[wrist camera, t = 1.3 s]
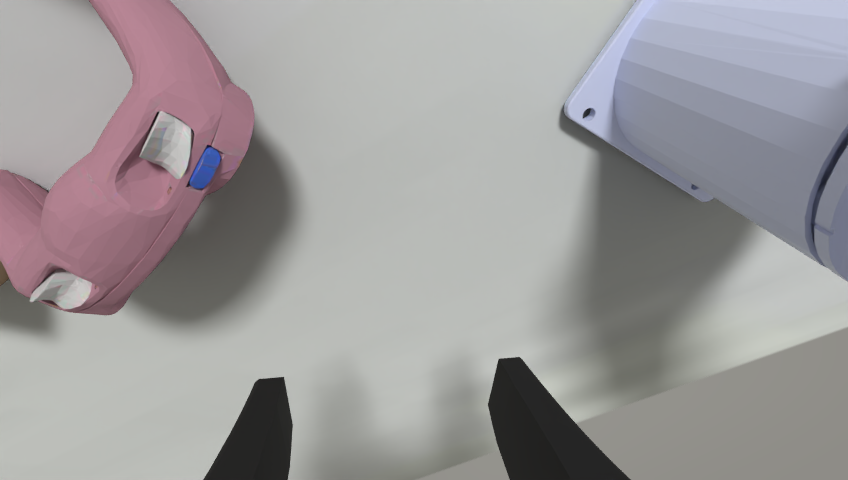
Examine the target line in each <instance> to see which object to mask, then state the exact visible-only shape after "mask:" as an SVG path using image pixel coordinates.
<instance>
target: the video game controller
mask: <svg viewBox="0 0 848 480" xmlns="http://www.w3.org/2000/svg"><path fill="white" fill-rule="evenodd" d="M89 2H90V3H91V4H92V6H93V7H94V9H95V10H96V11H97V13H98V14H99V16H100V17H101V19H102V20H103V22H104V23H105V25H106V26H107V28H108V29H109V31H110V32H111V34H112V35H113V37H114V38H115V40H116V41H117V43H118V45H119V47H120V49H121V50H122V52H123V54H124V56H125V58H126V60H127V62H128V63H129V66H130V68H131V71H132V74H133V83H132V87H131V89H130V91H129V93H128V94H127V96H126V97H125V99H124V100H123V102H122V103H121V105H120V106H119V108H118V109H117V110H116V112H115V113H114V115H113V116H112V118H111V119H110V121H109V122H108V124H107V126H106V128H105V129H104V131H103V133H102V134H101V136H100V138H99V139H98V141H97V143H96V144H95V146H94V148H93V150H92V151H91V152H90V153H89V154H88V155H86V156H85V157H84V158H82V159H81V160H80V161H78V162H77V163H76V164H75V165H74V166H72V167H71V168H70V169H69V170H68V171H67V172H66V173H64V174H63V175H62V176H61V177H60V178H59V179H58V180H57V182H56V183H55V184H54V186H53V187H52V188H51V190H50V191H49V192H47V191H46V190H44V189H43V188H41V187H40V186H38V185H37V184H35V183H34V182H32V181H30V180H28V179H26V178H24V177H22V176H20V175H17V174H13V173H10V172H9V171H7V170H0V261H1V262H2V264H3V266H4V268H5V270H6V272H7V274H8V276H9V278H10V281H11V283H12V285H13V287H14V288H15V289H16V290H17V291H18V292H19V293H21V294H23V295H24V296H26V297H28V298H30V302H35V301H39V302H41V303H44V304H46V305H49V306H52V307H54V308H57V309H60V310H63V311H67V312H73V313H85V314H98V315H112V314H114V313H116V312H118V311H119V310H120V309H121V308H122V307H123V306H124V304H125V303H126V301H127V300H128V298H129V296H130V295H131V293H132V292H133V290H134V289H136V288H137V287H138V286H139V285H140V284H142V283H143V281H144V280H145V279H146V278H147V277H148V275H149V274H150V273H151V272H152V271H153V270H154V269H155V268H156V267H157V266H158V264H159V263H160V262H161V261H162V260H163V258H164V257H165V256H166V254H167V253H168V252H169V251H170V249H171V248H172V247H173V245H174V244H175V243H176V241H177V240H178V239H179V237H180V236H181V235H182V233H183V232H184V230H185V229H186V227H187V226H188V224H189V222H190V221H191V219H192V218H193V216H194V215H195V213H196V211H197V210H198V208H199V206H200V204H201V203H202V201H203V199H204V197H205V196H206V195H208V194H211V193H213V192H215V191H217V190H218V189H220V188H222V187H223V186H224V185H225V184H226V183H227V182H228V181H229V180H230V179H231V178H232V176H233V175H234V174H235V172H236V171H237V169H238V168H239V166H240V164H241V162H242V160H243V158H244V156H245V154H246V152H247V150H248V147H249V143H250V140H251V136H252V132H253V127H254V108H253V104H252V101H251V99H250V97H249V95H248V94H247V93H246V92H245V91H244V90H242V89H241V88H239V87H237V86H236V85H234V84H233V83H231V81H230V79H229V77H228V75H227V73H226V71H225V69H224V68H223V66H222V65H221V63H220V62H219V61H218V59H217V58H216V56H215V55H214V54H213V52H212V51H211V49H210V48H209V46H208V45H207V44H206V42H205V41H204V39H203V38H202V37H201V35H200V34H199V33H198V31H197V30H196V29H195V28H194V27H193V25H192V24H191V23H190V22H189V21H188V19H187V18H186V17H185V16H184V14H183V13H182V12H181V11H180V10H179V9H178V8H177V7H176V6H175V5H174V4H172V3H171V2H170V1H169V0H89Z"/></svg>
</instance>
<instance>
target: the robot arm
mask: <svg viewBox="0 0 848 480" xmlns="http://www.w3.org/2000/svg"><path fill="white" fill-rule="evenodd" d="M588 108H590V109H591V111H590V114H589V115H588V116H587V117H585V118H583V113H584V111H585V110H586V109H588ZM564 113H565V115H566V116H567V117H568V118H569V119H571V120H572V121H574V122H576V123H577V124H579V125H580V126H582V127H584V128H585V129H587V130H588V131H590V132H591V133H593V134H595V135H596V136H598V137H599V138H601V139H603V140H604V141H606V142H607V143H609V144H611V145H612V146H614V147H615V148H617V149H618V150H620V151H622V152H623V153H625V154H626V155H628V156H630V157H631V158H633V159H634V160H636V161H637V162H639V163H641V164H642V165H644V166H645V167H647V168H649V169H650V170H652V171H653V172H655V173H657V174H658V175H660V176H661V177H663V178H664V179H666V180H668V181H669V182H671V183H672V184H674V185H676V186H677V187H679V188H680V189H682V190H684V191H685V192H687V193H688V194H690V195H691V196H693V197H695V198H696V199H698V200H699V201H701V202H708V201H710V200H712V199H713V198H716V199H717V200H719V201H721V202H722V203H724V204H725V205H727V206H729V207H730V208H732V209H733V210H735V211H737V212H738V213H740V214H741V215H743V216H744V217H746V218H748V219H749V220H751V221H752V222H754V223H756V224H757V225H759V226H760V227H762V228H764V229H765V230H767V231H768V232H770V233H772V234H773V235H775V236H776V237H778V238H779V239H781V240H783V241H784V242H786V243H787V244H789V245H791V246H792V247H794V248H795V249H797V250H799V251H800V252H802V253H803V254H805V255H806V256H808V257H810V258H811V259H813V260H814V261H816V262H818V263H819V264H821V265H823V266H825V267H827V268H829V269H830V270H831V271H832V272H833V273H835V274H837V275H838V276H840V277H841V278H843V279H844V280H846V281H848V0H636V2H635V3H634V5H633V6H632V8H631V9H630V10H629V12H628V13H627V15H626V16H625V18H624V19H623V20H622V22H621V23H620V25H619V26H618V28H617V29H616V30H615V32H614V33H613V35H612V36H611V38H610V39H609V40H608V42H607V43H606V45H605V46H604V48H603V49H602V50H601V52H600V53H599V55H598V56H597V58H596V59H595V60H594V62H593V63H592V65H591V66H590V68H589V69H588V70H587V72H586V73H585V75H584V76H583V78H582V79H581V80H580V82H579V83H578V85H577V86H576V87H575V89H574V90H573V92H572V93H571V95H570V96H569V97H568V99H567V100H566V102H565V105H564ZM692 184H693V185H692ZM488 407H489V411H490V416H491V420H492V425H493V429H494V433H495V437H496V441H497V444H498V447H499V450H500V453H501V456H502V459H503V461H504V464H505V467H506V470H507V473H508V476H509V478H510V480H630V479H629V478H628V477H627V476H626V475H625V474H624V473H623V472H622V471H621V470H620V469H619V468H618V467H617V466H616V465H615V464H614V463H613V462H612V461H611V460H610V459H609V458H608V457H607V456H606V455H605V454H604V453H603V452H602V451H601V450H600V449H599V448H598V447H597V446H596V445H595V444H594V443H593V442H592V441H591V440H590V439H589V437H587V435H585V433H584V432H583V431H582V430H581V429H580V428H579V427H578V425H577V424H576V423H575V422H574V421H573V420H572V419H571V418H570V416H569V415H568V414H567V413H566V412H565V411H564V410H563V409H562V407H561V406H560V405H559V404H558V403H557V402H556V400H555V399H554V398H553V397H552V396H551V394H550V393H549V392H548V391H547V390H546V388H545V387H544V386H543V385H542V384H541V382H540V381H539V380H538V379H537V377H536V376H535V375H534V374H533V372H532V371H531V370H530V369H529V367H528V366H527V365H526V364H525V362H524V361H523V360H522V359H521V358H520V357H516V358H504V359H499V360H498V364H497V369H496V373H495V377H494V381H493V386H492V390H491V394H490V399H489V403H488ZM292 427H293V424H292V419H291V413H290V408H289V402H288V397H287V392H286V386H285V381H284V377H278V378H267V379H259V380H257V381H256V382H255V384H254V386H253V388H252V391H251V393H250V395H249V397H248V399H247V401H246V403H245V406H244V408H243V410H242V412H241V414H240V416H239V418H238V419H237V421H236V423H235V425H234V427H233V429H232V431H231V433H230V435H229V436H228V438H227V440H226V442H225V443H224V445H223V447H222V449H221V451H220V452H219V454H218V456H217V458H216V459H215V461H214V463H213V465H212V466H211V468H210V470H209V471H208V473H207V475H206V476H205V478H204V480H288V474H289V468H290V456H291V442H292Z"/></svg>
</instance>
